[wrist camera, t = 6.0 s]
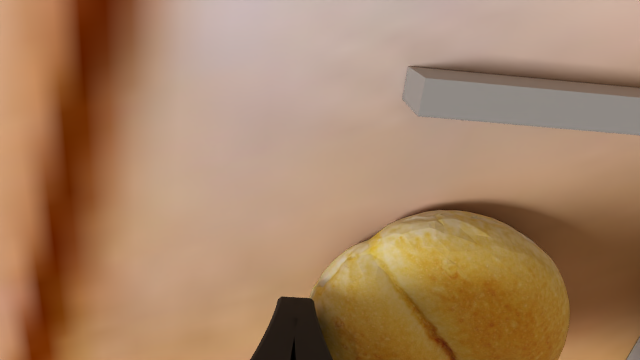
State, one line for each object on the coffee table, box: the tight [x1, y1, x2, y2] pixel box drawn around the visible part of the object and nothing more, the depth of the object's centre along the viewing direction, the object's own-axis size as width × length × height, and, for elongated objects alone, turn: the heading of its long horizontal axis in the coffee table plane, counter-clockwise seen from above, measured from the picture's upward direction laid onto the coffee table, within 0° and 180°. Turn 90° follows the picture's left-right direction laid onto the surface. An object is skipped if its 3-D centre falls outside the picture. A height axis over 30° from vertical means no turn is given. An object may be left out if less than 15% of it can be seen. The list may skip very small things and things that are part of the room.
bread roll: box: [310, 210, 570, 360], centre depth 14 cm, size 8×9×4 cm
